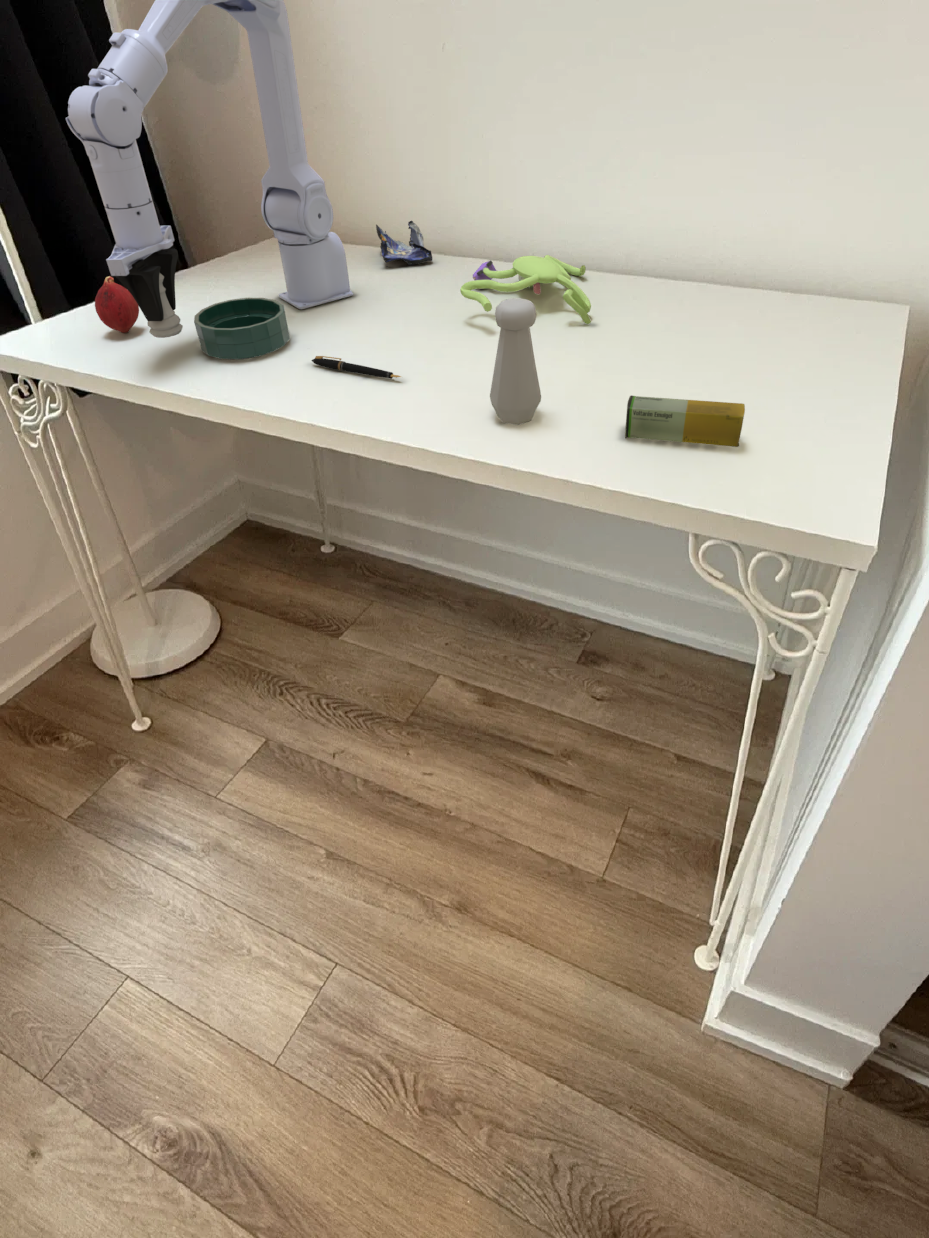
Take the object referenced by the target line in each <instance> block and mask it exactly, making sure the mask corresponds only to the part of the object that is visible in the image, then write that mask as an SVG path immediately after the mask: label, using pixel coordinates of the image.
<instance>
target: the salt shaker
mask: <svg viewBox="0 0 929 1238" xmlns="http://www.w3.org/2000/svg"><path fill="white" fill-rule="evenodd" d="M494 319H495V322H496V325H497V327H499V328H500V330H499V336H498V342H497V347H496V348H497V349H496V353H495V362H494V367H493V373H492V380H491V385H490V392H489V398H490V399H489V400H490V403H491V406H492V408H493V410H494V412H495V413H496V416H497V417H498V419H499V420H500V421H501V422H502V423H503V424H509V425H516V426H519V425H522V424H525V423H528V422H531V421H532V420H533V418H534V415H535V413H536V411H537V409H538V407H539V405H540V404H541V401H542V393H541V388H540V383H539V376H538V370H537V366H536V365H537V364H536V360H535V353H534V347H533V340H532V334H531V333H532V332H531V327H533V326H534V325H535V324H536V320H537V310H536V305H535V303H533V301H531V300H529V299H527V298H520V297H515V298H514V297H513V298H512V297H511V298H507V299H504V300H501V301H500V302H499V303H498V304H497V306H496V307H495V310H494Z"/></svg>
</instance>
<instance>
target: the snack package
mask: <svg viewBox="0 0 929 1238" xmlns="http://www.w3.org/2000/svg"><path fill="white" fill-rule="evenodd" d="M407 226H408V230H410V235H409V236H410V237H409V241H408V245H407V244H406V243H404V242H402V241H400V240H395V239H394V238H393V237H392V236H390V235H389V234H388V233H387V231H386V230H383V229H382V228H381V227H380V226H379V225H378V224H375V229H376V234H377V236H378V238H379V240H380V241H381V242H380V251H381V256H382V258H383V260H384V263H390V262H392V261H393V262H394V261H401V260H402V261H404V262H406V263H407V266H413V265H418V264H423V263H426V262H432V261H433V254H432V251H431V250H429V249H427V248H426V247H425V244H424V241H425V239H424V235H423V233H422V232H421V230H420V227H419V226H418V225H417V224H416V223H415V222H414V221H413V220H410V221H408V223H407ZM388 267H389V266H388V265H387V266H386V268H388Z"/></svg>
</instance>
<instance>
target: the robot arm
mask: <svg viewBox="0 0 929 1238" xmlns="http://www.w3.org/2000/svg"><path fill="white" fill-rule="evenodd" d="M207 5H208V6H209V5H213V6H215V7H217V8H218V9H221V10H223V11H225V12H227V13H228V14H229V15H230V16H231V17H232V18H233V19H234V20H236V22H238V23H239V25H241V26H242V27H243V28H244V29H245V30H246V33H247V38H248V45H249V51H250V57H251V63H252V69H253V75H254V76H253V77H254V80H255V81H254V82H255V87H256V93H257V99H258V105H259V111H260V118H261V123H262V130H263V136H264V141H265V146H266V153H267V161H268V165H269V166H268V168H267V170H266V171H265V173H264V175H263V176H262V178H261V179H260V180H261V181H260V182H261V188H262V189H261V190H262V197H261V202H260V203H261V204H260V210H261V217H262V219H263V221H264V223H265V225H266V226H267V227H268V228H269V229H270V230H271V231H273V236H274V239H276V240H277V245H278V250H279V254H280V260H281V265H282V270H283V277H284V282H285V286H286V291H285V292H280V293H278V298H280V299H281V300H283V301H285V302H286V303H288V304H290V305H292V306H294V307H295V308H297V309H299V310H306V309H308V308H312V307H315V306H319V305H322V304H328V303H330V302H333V301H338V300H341V299H345V298H348V297H351V296H354V292H353V291H352V290H351V284H350V278H349V271H348V263H347V255H346V250H345V247H344V244H343V241H342V240H341V238H340V236H339V235H338V234H337V233H336V232H335V231H331V229H332V226H333V222H334V208H333V205H332V202H331V200H330V198H329V196H328V193H327V189H326V184H325V183H326V181H325V180H324V179H323V177H321V176H320V174H319V173H318V172H317V171H316V170H315V169H314V168H313V167H312V166H311V165H310V163H309V160H308V159H309V158H308V152H307V145H306V138H305V131H304V130H305V129H304V125H303V116H302V110H301V101H300V94H299V87H298V79H297V73H296V65H295V59H294V52H293V45H292V38H291V31H290V22H289V17H288V15H289V14H288V11H287V6H286V3H285V1H284V0H154V1H153V3H152V5H151V7H150V9H149V10H148V12H147V13H146V16H145V18H144V19H143V21H142V22H141V25H140V26H139V27H138V30H137V29H133V28H126V29H125V28H124V29H123V30H122V31H121V32H118V31H117V32H116V31H115V32H113V33H112V34H111V36H110V37H109V39H108V42H109V43H110V44H111V47H110V49H109V50H108V52H107V53H106V55H105V56H104V58H103V59H102V61H101V62H100V63H99V65H98V67H97V68H91V70H90V71H89V72H88V74H87V77H88V78H89V80H88V85H82V86H78V87H76V88H74V90H72V92H71V93H70V95H69V98H68V101H67V104H68V106H67V115H68V116H67V117H65V121H66V123H67V126H68V128H69V129H70V131H71V132H72V134H74V136H75V137H76V138H77V139H78V140H80V142H81V143H82V144H83V147H84V150H85V153H86V155H87V157H88V159H89V162H90V166H91V168H92V172H93V175H94V178H95V181H96V184H97V188H98V190H99V194H100V197H101V201H102V203H103V206H104V210H105V212H106V215H107V219H108V223H109V225H110V229H111V232H112V235H113V238H114V242H115V244H114V246H113V249H112V251H111V254H110V256H109V257H108V258H106V259H105V261H106V264H107V266H108V267H107V268H108V270H109V273H110V277H115V278H116V279H117V280H118V281H119V282H120V283H121V284H122V286H123V287H124V288H126V289H127V290H128V291H129V292H130V293H131V295H132V296H133V298H134V299H135V301H136V302H137V304H138V306H139V310H140V311H141V313H142V314H143V317H144V318H145V320H146V321H147V322H148V321H162V320H163V319H164V313H163V307H162V302H161V297H160V289H159V274H160V273H161V274H162V275H163V276H164V279H163V282H162V284H163V287H164V288H165V289H166V290H165V293H166V297H167V299H168V302H169V304H170V306H171V308H172V310H173V311H175V310H176V305H177V304H176V303H177V302H176V301H177V300H176V281H175V280H176V270H177V269H176V268H177V263H178V259H179V252H178V250H177V249H176V248H172V247H173V246H174V242H175V240H176V239H175V236H174V233H173V229H172V226H171V225H160V222H159V219H158V214H157V211H156V208H155V204H154V200H153V197H152V194H151V190H150V187H149V182H148V179H147V176H146V172H145V168H144V165H143V164H144V163H143V161H142V157H141V153H140V149H139V146H138V143H137V140H138V139H139V138H140V137H141V133H142V128H143V127H142V125H143V120H142V114H143V112H144V110H145V108H146V106H147V105H148V103H150V100H151V99H152V97H153V96H154V94H155V93H156V91H157V90H158V88H159V87H160V85H161V83H162V82H163V81H164V79H165V78H166V76H167V74H168V71H169V68H168V62H167V58H166V55H167V53H168V52H169V51H170V49H171V48H172V47H173V45H174V44H175V43H176V41H177V40H178V39H179V38H180V36H181V35H182V33H183V32H184V31H185V30H186V29H187V27H188V26H189V25H190V23H191V22H192V21H193V20H194V18H195V17H196V15H197V14H199V11H200V10H201V9H202V7H204V6H207Z"/></svg>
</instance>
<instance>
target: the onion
mask: <svg viewBox="0 0 929 1238" xmlns="http://www.w3.org/2000/svg"><path fill="white" fill-rule="evenodd" d="M94 308H95V312H96V313H97V314H96V315H97V316H98V318H99V320H100V321H101V322H102V323H103V324H104V325H105V326H107V327H108V328H110V329H111V330H114V331H116V332H118V333H122V334H128V333H129V332H130V331H131V329H132V328H133V326H134V325H135V324H136V322H137V321H138V319H139V315H140V307H139V306H138V304H137V302H136V301H135V299H134V298H133V296H132V295H131V293H130V292H129V291H128V289H127V288H126V287H125V286H124V285H121V284H120V283H119V284H118V283H116V282H115V279H114V277H113V276H111V275H109V276H106V277H105V279H104V281H103V284H102V286H101V287H99V289H98V290H97V293H96V296H95V298H94Z"/></svg>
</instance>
